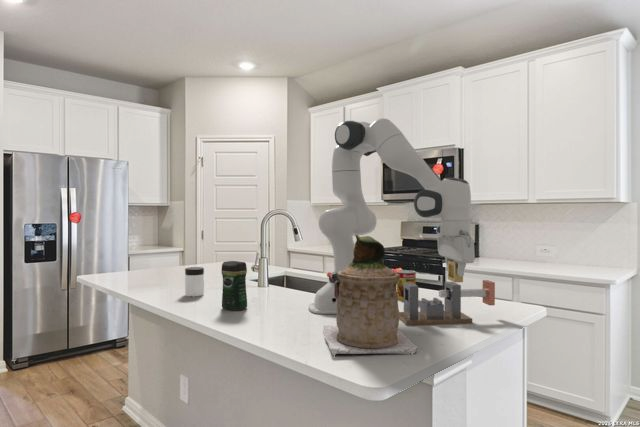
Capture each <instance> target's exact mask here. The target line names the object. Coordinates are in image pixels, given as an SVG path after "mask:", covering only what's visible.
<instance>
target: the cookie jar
mask: <svg viewBox="0 0 640 427" xmlns="http://www.w3.org/2000/svg"><path fill="white" fill-rule="evenodd" d="M354 237H355V239H356V241H355V242H354V244H355V248H354V250H353V251H354V253H353V254H354V258H353V261H352V263H350V264H349V265H348V266H347V267H346V268H345V269H344V270H342V271H339V272H338V273H337V276H338V279H339V280H340V281H336V282H335V285H334V289H335V290H334V295H335V298H337V300H338V301H337V314H336V326H334V325H323V326H322V327H323V329H322V332H323V336H324V340H325V342H327V345H328V348H329V351H330V352H331V355H332V356H333V355H336V356H337V355H339V354H341V355H343V354H345V355H361V354H362V355H365V354H367V355H368V354H371V355H372V354H401V355H411V354H410V353H414V354H415V353H416V351H417V349H418V346H417V345H416V344H414V343H413V342H412V341H411V340H410V339H409V337H407V336H405V334H403V333H402V331H401V330H400V329H399V324H400V313H399V312H400V310H399V300H398V295H397V282H398V280H399V279H400V275H399V274H398V273H397V272H395V271H394V270H392V269H391V268H389V267H388V266H386V265H385V264H384V263H383V260H384V257H385V251H386V249H385V247H384V245H383V244H382V243H381V242H380V241H378V240H376V239H375V238H373V237H372V236H370V235H369V236H367V235H366V236H365V235H363V236H358V235H357V234H356V235H355V236H354Z"/></svg>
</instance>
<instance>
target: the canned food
mask: <svg viewBox="0 0 640 427" xmlns="http://www.w3.org/2000/svg"><path fill="white" fill-rule="evenodd" d="M396 273H398V274H399V275H400V279H399V280H398V282H397V285H396V290H397V295H398V302H404V283H413V284H415V285H417V283H416V282H417V281H416V280H417V279H416V277H417V275H416V273H417V271H415V270H412V269H400V270H399V269H398V270H396Z"/></svg>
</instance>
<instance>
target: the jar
mask: <svg viewBox="0 0 640 427" xmlns="http://www.w3.org/2000/svg"><path fill="white" fill-rule="evenodd" d="M184 271H185V272H184V273H185V277H184V282H185V283H184V285H185V286H184V288H185V289H184V290H185V291H184V292H185V294H184V295H185V296H184V297H191V296H192V297H195V296H196V297H201V296H204V295H205V276H204V275H205V268H204V267H202V266H193V267H186V268H185V269H184ZM196 297H195V298H196Z"/></svg>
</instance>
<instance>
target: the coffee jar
mask: <svg viewBox="0 0 640 427" xmlns="http://www.w3.org/2000/svg"><path fill="white" fill-rule="evenodd" d="M220 272H221V276H222V294H221V296H222V297H221V307H222V309H223V310H228V311H241V310H245V309H246V308H248V298H247V297H248V296H247V284H246V277H247V273H248V268H247V263H246V262H245V261H239V260H237V261H236V260H228V261H223V262H222V263H221V271H220Z"/></svg>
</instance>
